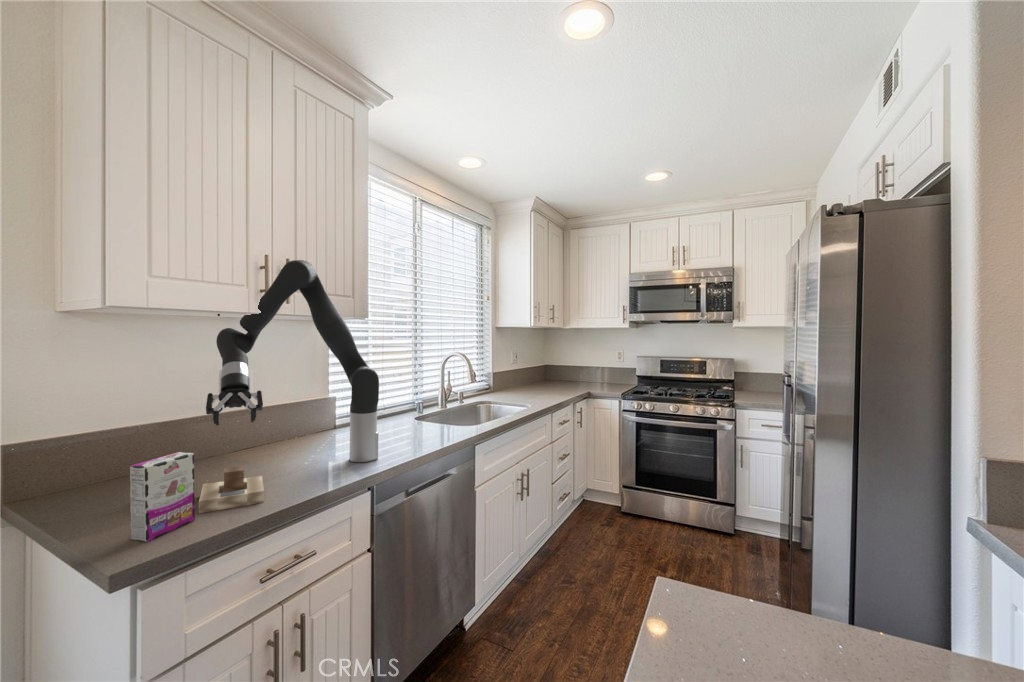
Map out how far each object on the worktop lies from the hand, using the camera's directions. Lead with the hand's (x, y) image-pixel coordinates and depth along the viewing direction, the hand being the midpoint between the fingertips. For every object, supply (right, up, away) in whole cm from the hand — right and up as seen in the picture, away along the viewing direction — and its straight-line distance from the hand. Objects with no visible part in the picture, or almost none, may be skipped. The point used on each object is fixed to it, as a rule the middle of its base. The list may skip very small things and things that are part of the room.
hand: (235, 422), depth 124 cm
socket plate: (+5, -19, -9) cm, 22 cm away
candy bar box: (+2, -19, -28) cm, 34 cm away
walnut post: (+5, -19, -9) cm, 22 cm away
